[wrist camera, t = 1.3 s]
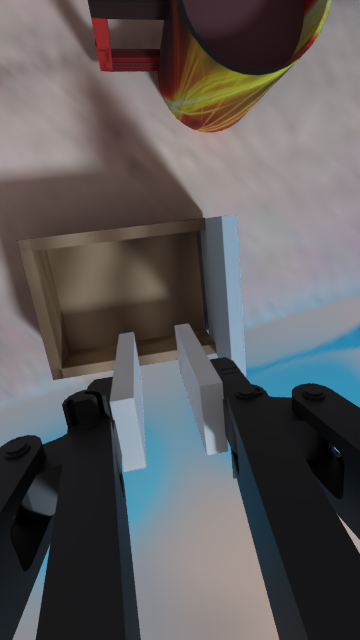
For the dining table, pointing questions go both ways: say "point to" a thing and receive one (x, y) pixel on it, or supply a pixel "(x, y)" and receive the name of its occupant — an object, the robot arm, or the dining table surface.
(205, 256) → the pale blue square panel
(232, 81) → the mug
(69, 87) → the dining table surface
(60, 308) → the crate
